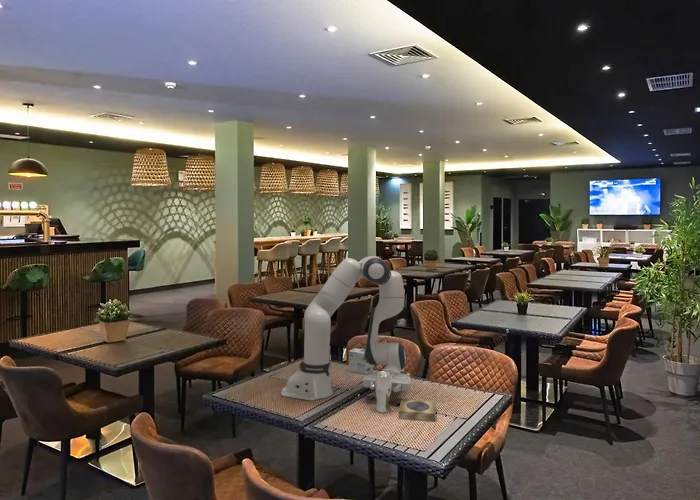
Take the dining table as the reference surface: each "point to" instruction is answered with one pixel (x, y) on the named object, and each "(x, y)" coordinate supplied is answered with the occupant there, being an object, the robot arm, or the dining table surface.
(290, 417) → the dining table surface
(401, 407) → the brass stand
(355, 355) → the light bulb box
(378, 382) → the beer glass
